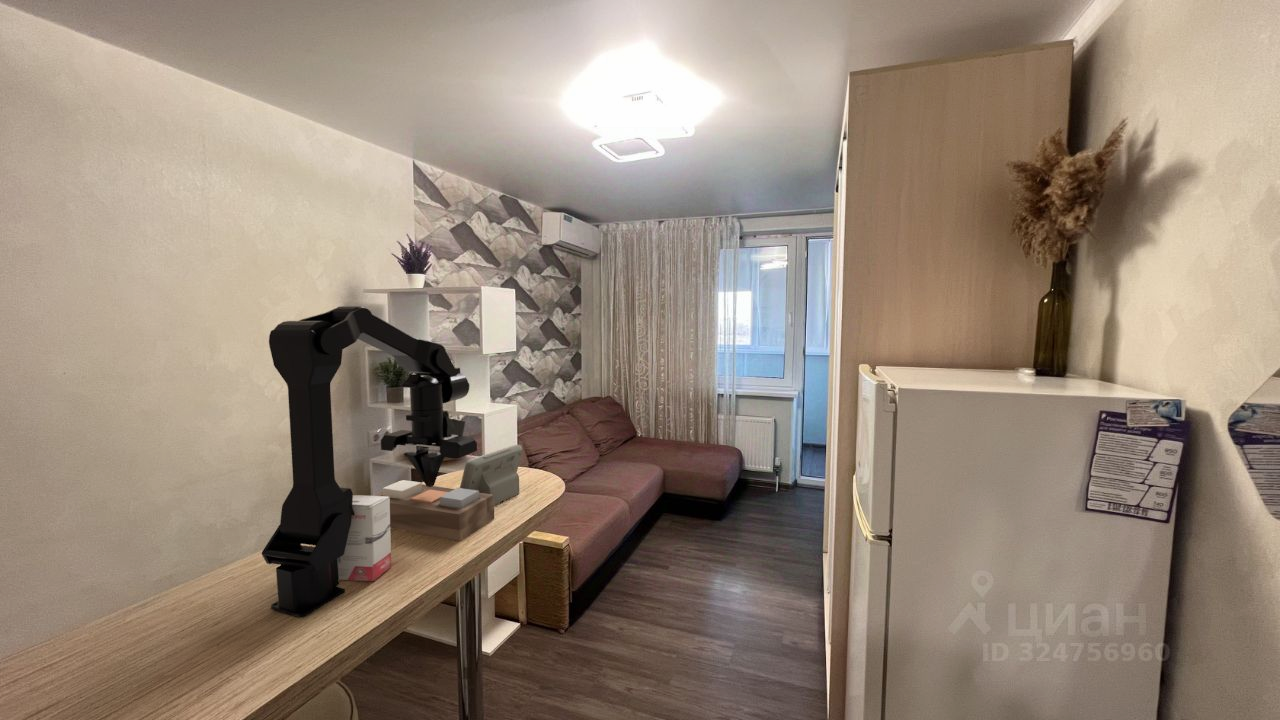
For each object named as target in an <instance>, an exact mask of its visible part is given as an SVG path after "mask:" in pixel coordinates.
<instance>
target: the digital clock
mask: <svg viewBox="0 0 1280 720" xmlns="http://www.w3.org/2000/svg"><path fill="white" fill-rule="evenodd" d="M522 454H523V447H522V445H521V444H514V445H509V446H507V447H506V446H505V447H503V448H501V449H497V450H494V451H492V452H489V453H486V454H483V455H479V456H477V457H474V458H472V459H471V458H470V459H469V460H467V461H466V463H465V466H464V469H463V473H462V477H461V482H460V485H459V488H463V489H470V490H477V491H479V493H485V494H492V495H494V506H496V505H498V504H500V503H499V502H501V503H502V501H503V502H505V501H506V499H507V500H509V499H511V498H514V497H515V496H518V495H520V475H519V474H518V469H519V465H520V462H521V458H522ZM517 494H518V495H517ZM508 498H509V499H508ZM504 500H505V501H504ZM495 504H496V505H495Z"/></svg>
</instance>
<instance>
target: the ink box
mask: <svg viewBox="0 0 1280 720" xmlns="http://www.w3.org/2000/svg"><path fill="white" fill-rule="evenodd" d="M352 507H353V511H354V513H355V515H351V526H350V529H349V533H348V538H347V543H346V547H345V552H344V555H343V556H341V557H339V558H338V559H337V560H338V575H339V581H357V582H358V581H361V582H374V581H376V580H377V579H378V578H379V577H380V576H381V575H383V574H384V573H385V572H386V571H387V570H389V569H390V568H391V567H392V551H391V550H392V546H391V543H392V542H391V540H392V539H391V528H390V497H389V496H375V495H360V494H353V499H352Z"/></svg>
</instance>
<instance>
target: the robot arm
mask: <svg viewBox="0 0 1280 720" xmlns="http://www.w3.org/2000/svg"><path fill="white" fill-rule="evenodd" d="M358 340H359V341H361V342H363V343H366V344H367V345H369V346H372V347H374V348H375V349H378V350H379V351H382V352H384V353H386V354H388V355H390V356H392V357H393V358H394V359H395V362H396V364H397V365H398V366H399V367H400V368H402V369H403V370H404V371H406V372H407V373H410V374H408V377H407V378H406V379H405V380H403V382H402V383H401V387H402V388H404V389H405V388H407V389H408V388H409V399H410V400H409V402H410V413H409V414H406V415H405V420H406V421H408V422H411V426H410V427H411V430H407V429H406V430H405V429H400V430H397V431H393V432H389V433H386V434H383V437H382V438H381V439H380V450H381V451H387V452H389V451H390V452H393V451H395V449H396V448H397V446H406V452H405V453H403V457H404V458H407V460H409V462H410V463H411V465H412V466H413V467H414V469H415V470H416V472H417V473H418V475H419V476H420V478H421V480H422V481H423V483H424V485H426V486H427V487H432V486H435V484H436V480H437V477H438V475H439V472H440V468H441V466H442V464H443V461H444V459H446V458H448V459H461V458H463V457H465V456H468V455H471V454H473V453H475V452H477V451H478V442H477V440H476V438H475V437H474V436H468V435H467V436H466V435H464V431H465V426H466V421H464V420H459V419H456V418H455V419H454V418H450V413H449V411H448V410H444V404H447V403H451V402H454V401H457V400H461V399H463V398H465V397H466V396H468V394H469V391H470V383H469V380H468V379H467V377H466V376H465V375H464V374H463V373H461V367H455V366H454V364H453V362H452V359H451V358H450V357H449V355H448V353H447V350H446V348H445V346H443V345H442V344H441V343H439V342H435V341H432V340H427V339H421V338H417V337H414V336H412V335H410V334H408V333H406V332H405V331H403V330H402V329H400V328H398V327H396V326H394V325H393V324H391V323H389V322H388V321H386V320H385V319H382V318H380V317H379V316H377V315H375V314H373V313H372V311H371V310H370V309H368V308H366V307H364V306H361V305H359V306H357V305H356V306H353V305H352V306H350V305H349V306H345V305H344V306H337V307H336V308H333V309H331V310H328V311H326V312H322V313H320V314H316V315H312V316H308V317H306V318H301V319H299V320H287V321H283V322H280V323H278V324H277V325H276V326H275V327H274V329H272V330H271V331H270V333H269V337H268V345H269V349H270V354H271V359H272V362H273V367H274V368H275V369H276V371H277V372H278V374H279V375H280V376H281V378H282V379H283V380H284V382H285V383H286V386H287V396H288V397H287V398H288V410H289V428H290V430H289V431H290V446H291V449H290V450H291V466H292V482H293V484H292V488H291V489H290V491H289V493H287V496H286V498H285V499H284V501H283V503H282V506H281V512H280V513H281V515H280V523H279V525H278V526H277V528H276V530H275V531H274V532H273V534H272V536H271V537H270V539H269V540H268V542H267V543H266V545H265V546H264V548H263V550H262V551H261V556H262V558H263V559H264V561H265V563H266V564H268V565H273V564H274V565H279V566H277V567H276V568H275V572H276V587H277V588H276V589H277V599H278V600H277V601H275V602H273V603H271V604H270V609H271V610H275V611H277V612H280V613H285V614H287V615H290V616H295V617H298V618H305V617H307V616H308V615H310V614H312V613H313V612H315V611H317V610H319V609H320V608H322V607H323V606H326V605H327V604H328V603H330V602H332V601H334V600H335V599H337V598H338V597H340V596H342V595H344V594H345V593H346V589H345V588H344V587H339V584H340V580H339V575H338V560H337V559H338V558H339V557H341V556H343V555H344V552H345V547H346V543H347V538H348V533H349V529H350V526H351V515H355V513H354V511H353V507H352V499H353V495H354V494H353V490H352V488H350V487H349V488H348V487H340V485H339V484H338V482H337V481H336V476H335V459H334V458H335V456H334V438H333V437H334V435H333V418H332V417H333V416H332V415H333V414H332V395H331V394H332V393H331V392H332V391H331V382H332V381H333V379H334V377H335V376H336V374H337V372H338V371H339V369H340V367H341V365H342V359H343V358H342V357H343V350H344V349H347V348H348V347H350V346H351V345H353V344H355V343H357V341H358ZM453 435H454V437H452V436H453ZM446 438H447V439H446Z"/></svg>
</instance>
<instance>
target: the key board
mask: <svg viewBox="0 0 1280 720" xmlns="http://www.w3.org/2000/svg"><path fill="white" fill-rule="evenodd" d="M454 489H455V488H450V487H443V486H436V485H434V486H432V487H427V486H426V484H423V483H422V491H420V492H418V493H415V494H413V495H411V496H409V497H407V498H405V499H397V498H391V497H390V529H393V530H398V531H399V530H400V531H403V530H405V531H404V532H408V531H410V532H409V533H414V532H416V534H419V533H422V534H421V535H425V534H427V535H426V536H430V535H432V536H431V537H435V536H436V537H437V538H442V539H445V540H447V539H448V540H452V541H457V542H462V541H463V540H465V539H466V538H467V537H469V536H470V535H472V534H474V533H475V532H477V531H478V530H480V529H481V528H483V527H484V526H486V525H488V524H489V523H491V522H492V521H493V520H495V505H494V495H492V494H485V493H479V500H477V501H475V502H473V503H472V504H470V505H468V506H466V507H464V508H463V509H460V508H454V507H447V506H441V505H440V500H439V501H437V502H435V503H433V504H429V503H422V502H416V501H411V498H413V497H415V496H417V495H419V494H421V493H423V492H426V491H428V490H437V491H443V492H450V491H452V490H454ZM374 496H383V491H382V492H380V493H377V494H375V495H374ZM436 537H435V538H436Z"/></svg>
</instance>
